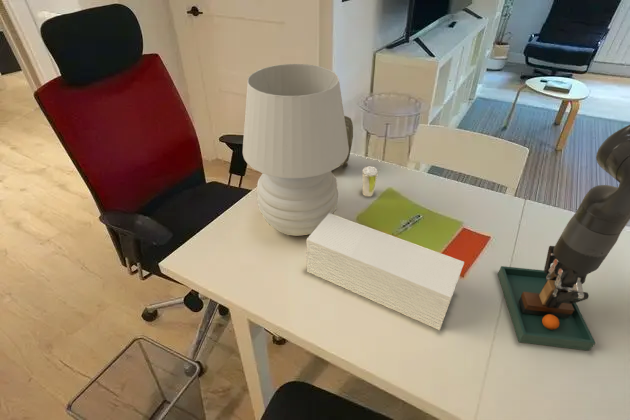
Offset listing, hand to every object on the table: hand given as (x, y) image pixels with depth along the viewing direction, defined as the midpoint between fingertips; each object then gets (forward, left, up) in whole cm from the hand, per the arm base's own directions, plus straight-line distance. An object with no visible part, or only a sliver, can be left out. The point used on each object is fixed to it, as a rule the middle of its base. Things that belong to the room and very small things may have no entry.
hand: (548, 300), depth 77 cm
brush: (0, 0, -3) cm, 3 cm away
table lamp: (+57, -22, -5) cm, 61 cm away
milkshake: (+38, -38, -5) cm, 54 cm away
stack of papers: (+35, -3, -5) cm, 35 cm away
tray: (0, -1, -4) cm, 5 cm away
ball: (0, +4, -2) cm, 4 cm away
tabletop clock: (+52, -50, -5) cm, 72 cm away
